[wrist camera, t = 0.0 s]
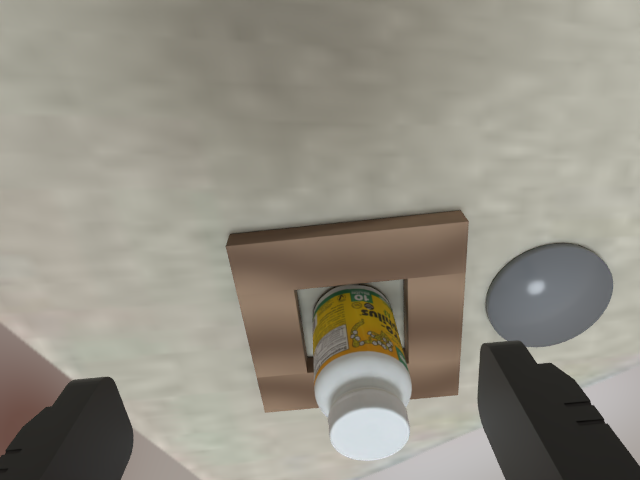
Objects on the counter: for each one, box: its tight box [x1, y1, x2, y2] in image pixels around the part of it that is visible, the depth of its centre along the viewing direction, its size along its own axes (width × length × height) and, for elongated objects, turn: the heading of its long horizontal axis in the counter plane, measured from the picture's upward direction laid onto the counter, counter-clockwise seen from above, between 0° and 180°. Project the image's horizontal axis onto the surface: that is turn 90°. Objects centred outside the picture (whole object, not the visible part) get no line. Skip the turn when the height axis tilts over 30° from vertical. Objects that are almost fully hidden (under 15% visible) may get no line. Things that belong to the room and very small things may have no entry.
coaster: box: [486, 243, 613, 347], centre depth 30 cm, size 8×8×1 cm
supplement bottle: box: [313, 284, 412, 461], centre depth 26 cm, size 5×5×10 cm
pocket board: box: [226, 210, 469, 413], centre depth 30 cm, size 14×14×2 cm
